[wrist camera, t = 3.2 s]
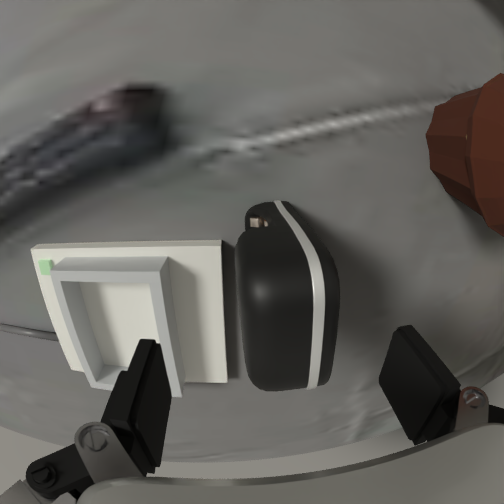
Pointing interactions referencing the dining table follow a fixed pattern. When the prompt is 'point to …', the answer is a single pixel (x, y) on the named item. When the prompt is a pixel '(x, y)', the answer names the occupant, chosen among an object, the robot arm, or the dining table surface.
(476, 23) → the dining table surface
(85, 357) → the dock
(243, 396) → the dining table surface
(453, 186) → the muffin
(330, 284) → the battery charger
